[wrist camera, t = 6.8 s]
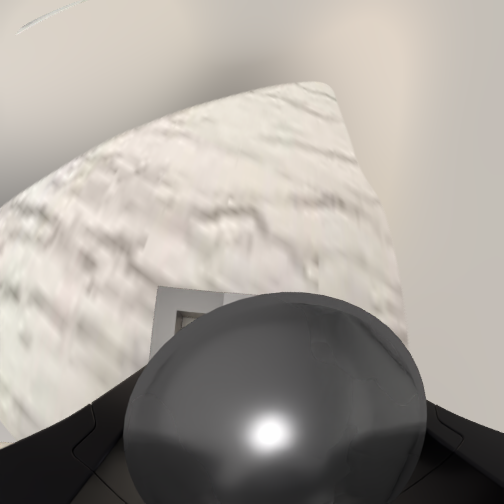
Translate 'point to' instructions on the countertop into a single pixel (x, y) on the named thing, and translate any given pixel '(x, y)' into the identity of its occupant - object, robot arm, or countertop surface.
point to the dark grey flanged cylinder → (277, 408)
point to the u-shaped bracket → (183, 310)
